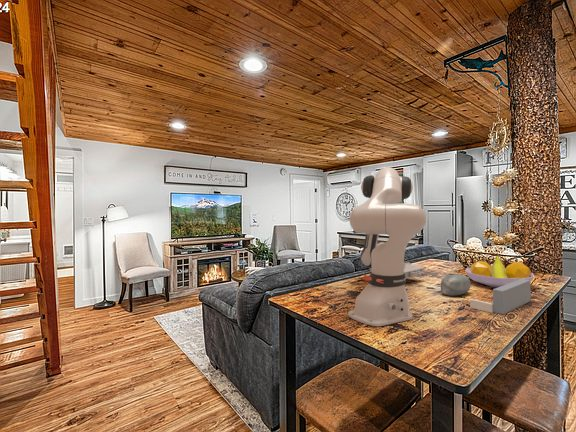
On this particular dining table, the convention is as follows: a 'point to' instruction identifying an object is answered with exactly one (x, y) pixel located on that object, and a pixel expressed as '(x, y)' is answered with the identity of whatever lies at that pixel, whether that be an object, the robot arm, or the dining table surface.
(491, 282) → the fruit bowl
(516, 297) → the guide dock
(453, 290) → the grey stone
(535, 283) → the dining table surface
